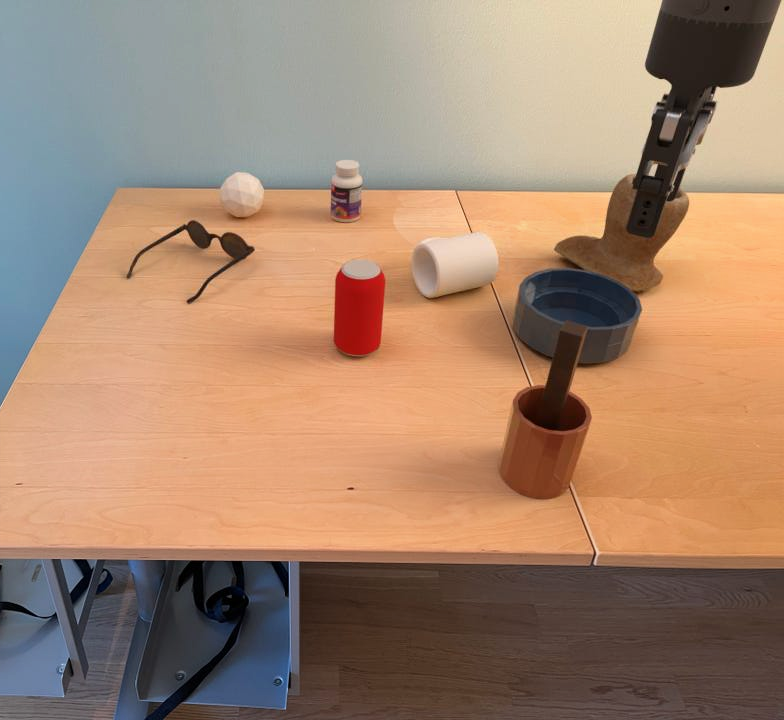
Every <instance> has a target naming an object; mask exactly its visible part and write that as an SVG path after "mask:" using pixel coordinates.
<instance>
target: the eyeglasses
mask: <svg viewBox="0 0 784 720" xmlns="http://www.w3.org/2000/svg"><path fill="white" fill-rule="evenodd" d="M184 231H186V232H187V234H188V236H189V238H190V240H191V241H192V242H193V244H194V245H196V246H197V247H198V248H200V249H203V250H206V249H209V248H210V246H211V244H212V241H213V240H214V239H217V240H218V242H219V243H220V244H219V245H220V247H221V249H222V251H224V253H226V255H228V256H229V257H230V258H232V259H233V260H231V261H230V262H228V263H227V264H225V265H224V266H222V267H221V268H220V269H218V270H217V271H215V272H214V273H213V274H212V275H210V276H209V277H208V278H207V279H206V280H205V281H204V282H203V284H201V285H202V286H201V287H200V288H199V290H198V291H197V293H195V294H194V295H193V296H192V297H189V298H188V299H187V300H186V303H187V304H191V303H193V302H195V301H196V300H198V298H199V297H200V296H201V295H202V294H203V292H204V291H205V289H206V287H207V286H208V285H209V284H210V282H212V280H214V279H215V278H217V277H218V276H219V275H221V274H223V273H224V272H226V271H227V270H229V269H230V268H231V267H233V266H234V265H236V264H238V263H240V262H241V261H243V260H245V259H247V257H249V256H250V255H251V254H253V253H254V252H255V250H256V249H255V246H253V245H249V244H248V243H247V242H246V240H245V239H244V238H242V236H240V235H239V234H238V233H235V232H231V231H227V232H224V233H223V234H222V235H221V236H220V235H218V234H217V233H209V232H208V231H207V229H206V228H205V227H204V225H203V224H202V223H200V222H199V221H197V220H194V219H191V220H189V221H188V222H187V224H185V223H184V224H183V225H181V226H179V227H177V228H176V229H174V230H172V231H171V232H169V233H167V234H165V235H164V236H162V237H160V238H159V239H157V240H155V241H154V242H152V243H151V244H149V245H147V246H145V247H144V248H143V249H141V250H140V251H139V252H138V253H137V254H136V255H135V257H134V259H133V260H132V261H131V264H130V267H129V270H128V272H127V274H126V279H131V276H132V274H133V271H134V268H135V266H136V264H137V263H138V261H139V259H140V257H141V256H142V255H143V254H144V253H146V252H148V251H150V250H151V249H153V248H155V247H157V246H159V245H160V244H162V243H164V242H166V241H167V240H169V239H171V238H173V237H175V236H177V235H178V234H181V233H182V232H184Z"/></svg>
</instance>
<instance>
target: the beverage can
mask: <svg viewBox="0 0 784 720" xmlns="http://www.w3.org/2000/svg"><path fill="white" fill-rule="evenodd" d="M385 291H386V276H385V274H384V272H383V270H382V268H381V267H380V265H378V264H377V263H375V262H374V261H372V260H367V259H353V260H350V261H347V262H345V263H344V264H343V265H342V266H341V267H340V269H339V270H338V271H337V273H336V276H335V280H334V308H333V309H334V315H333V343H334V345H335V347H336V348H337V349H338V350H339V351H340V352H342V353H343V354H344V355H348V356H351V357H366V356H369V355H372V354H374V353H376V352H377V351H378V350H379V348H380V346H381V343H382V330H383V320H384V319H383V318H384V307H385V306H384V305H385Z"/></svg>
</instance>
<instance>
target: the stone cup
mask: <svg viewBox="0 0 784 720" xmlns="http://www.w3.org/2000/svg"><path fill="white" fill-rule="evenodd" d="M636 174H637V173H630V174H627V175H625V176H624V177H623V178H621V179H620V180H619V181H618V182H617V183H616V185H615V187H614V188H613V191H612V192H611V194H610V198H609V201H608V205H607V209H606V217H605V221H604V223H605V224H604V230H603V234H602V237H597V236H589V235H582V234H581V235H572V236H570V237H566V238H564V239H562V240H561V241H558V242H557V243H556V244H555V246H554V248H553V250H554V252H556V253H557V254H559V255H560V256H562V257H563V258H565V259H567V260H568V261H569V262H571V263H573V264H574V265H576V266H578V267H579V268H581V269H582V270H586V271H590V272H594V273H598V274H602V275H605V276H607V277H609V278H612V279H614V280H616V281H619V282H620V283H622V284H623V285H625V286H626V287H628V288H629V289H631V290H632V291H633V292H641V291H642V292H643V291H647V290H650V289H653V288H655V287H657V286H659V285H660V284H661V283H662V281H663V279H664V274H662V272H661V271H660V270H659V269H658V268H657V267H656V266H655V264H654V262H655V258H656V256H657V255H658V253H660V250H661V249H662V248H663V247H664V246H665V245H666V244H667V243H668V242H669V241H670V240H671V238H672V237H673V235H675V233H676V232H677V231H678V229H679V227H680V225H681V224H682V223H683V221H684V219H685V217H686V215H687V213H688V211H689V207H690V198H689V196H688V194H687V193H686V191H684V189H682V188H680V187H679V190H678V193H677V196H676V198H675V199H674V200H673V201H670V202H668V201H666V203H665V206H664V209H663V212H662V215H661V219H660V222H659V225H658V228H657V231H656V233H655V234H654V236H653V237H651V238H645V237H641V236H637V235H633V234H629V233H628V232H627V231H626V226H627V223H628V220H629V216H630V213H631V210H632V206H633V203H634V200H635V196H636V193H637V190H634V189H632V188H633V184H632V182H633V179H634V178H635V177H636Z"/></svg>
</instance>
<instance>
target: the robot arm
mask: <svg viewBox="0 0 784 720" xmlns="http://www.w3.org/2000/svg"><path fill="white" fill-rule="evenodd" d="M781 3H782V0H661V4H660V6H659V11H658V13H657V18H656V21H655V27H654V28H653V32H652V36H651V40H650V44H649V47H648V50H647V55H646V58H645V62H644V68H645V70H646V72H647V73H648V74H649V75H651V76H652V77H653V78H656V79H658V80H665V81H667V82H668V83H669V84H670V85H671V86H670V91H669V92H668V93H663V95H662V97H661V100H660V101H656V103H655V106H654V109H653V111H652V114H651V118H650V119H651V120H650V123H651V125H650V127H649V131H648V134H647V136H646V138H645V142H644V144H643V147H642V149H641V158H640V161H639V164H638V168H637V170H636V173H635V174H636V177H635V178H634V179H633V182H632V184H633V188H632V189H634V190H637V193H636V196H635V200H634V203H633V206H632V210H631V213H630V216H629V220H628V223H627V226H626V231H627V232H628V233H629V234H633V235H637V236H641V237H645V238H651V237H653V236H654V234H655V233H656V231H657V228H658V225H659V222H660V219H661V215H662V212H663V209H664V206H665V203H666V201H668V202H670V201H673V200H674V199H675V198H676V196H677V193H678V190H679V188H680V187H681V184H682V181H683V178H684V175H685V173H686V169H687V167H688V166H689V164H690V163H691V159H692V157H693V156H694V155H695V153H696V151H697V148H696V147H697V146H699V145H701V144H702V142H703V140H704V137H705V135H706V132H707V129H708V125H709V124H711V122H712V120H713V118H714V115H715V113H716V110H717V106H718V103H719V101H717V100H714V97H715V94H716V91H717V89H718V88H719V89H726V88H734V87H739V86H742V85H745V84H747V83H749V82H750V81H751V80H752V79H753V78H754V76H755V73H756V71H757V69H758V65H759V64H760V63H759V62H760V60H761V57H762V55H763V52H764V49H765V46H766V44H767V41H768V38H769V36H770V33H771V30H772V27H773V25H774V22H775V19H776V17H777V14H778V11H779V8H780V6H781ZM654 165H657V166H656V170H655V173H654V175H649V174H650V171H651V170H652V167H653V166H654Z"/></svg>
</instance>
